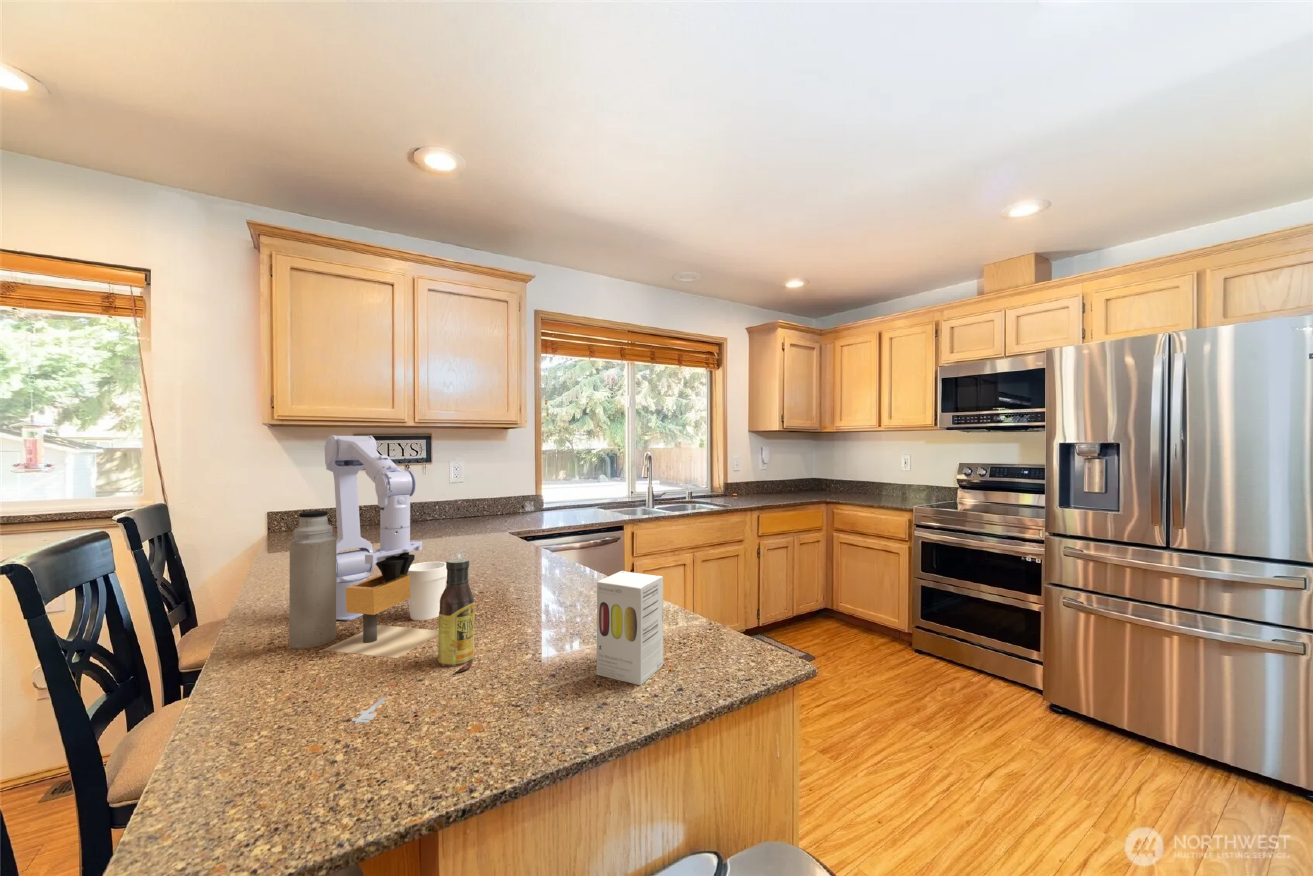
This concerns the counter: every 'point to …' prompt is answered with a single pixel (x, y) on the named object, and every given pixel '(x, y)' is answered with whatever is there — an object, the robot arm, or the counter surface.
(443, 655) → the sauce bottle
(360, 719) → the key
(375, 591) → the orange wooden hollow box
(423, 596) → the foam cup
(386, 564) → the robot arm
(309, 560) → the thermos bottle
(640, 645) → the supplement box
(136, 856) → the counter surface
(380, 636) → the board
